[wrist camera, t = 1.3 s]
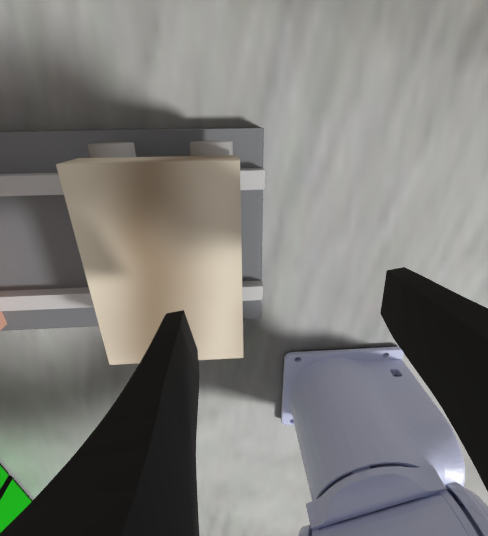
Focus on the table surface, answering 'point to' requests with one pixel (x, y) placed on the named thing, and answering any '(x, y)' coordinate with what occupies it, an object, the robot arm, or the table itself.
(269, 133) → the table surface
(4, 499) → the puzzle cube
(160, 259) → the slab
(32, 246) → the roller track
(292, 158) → the table surface
